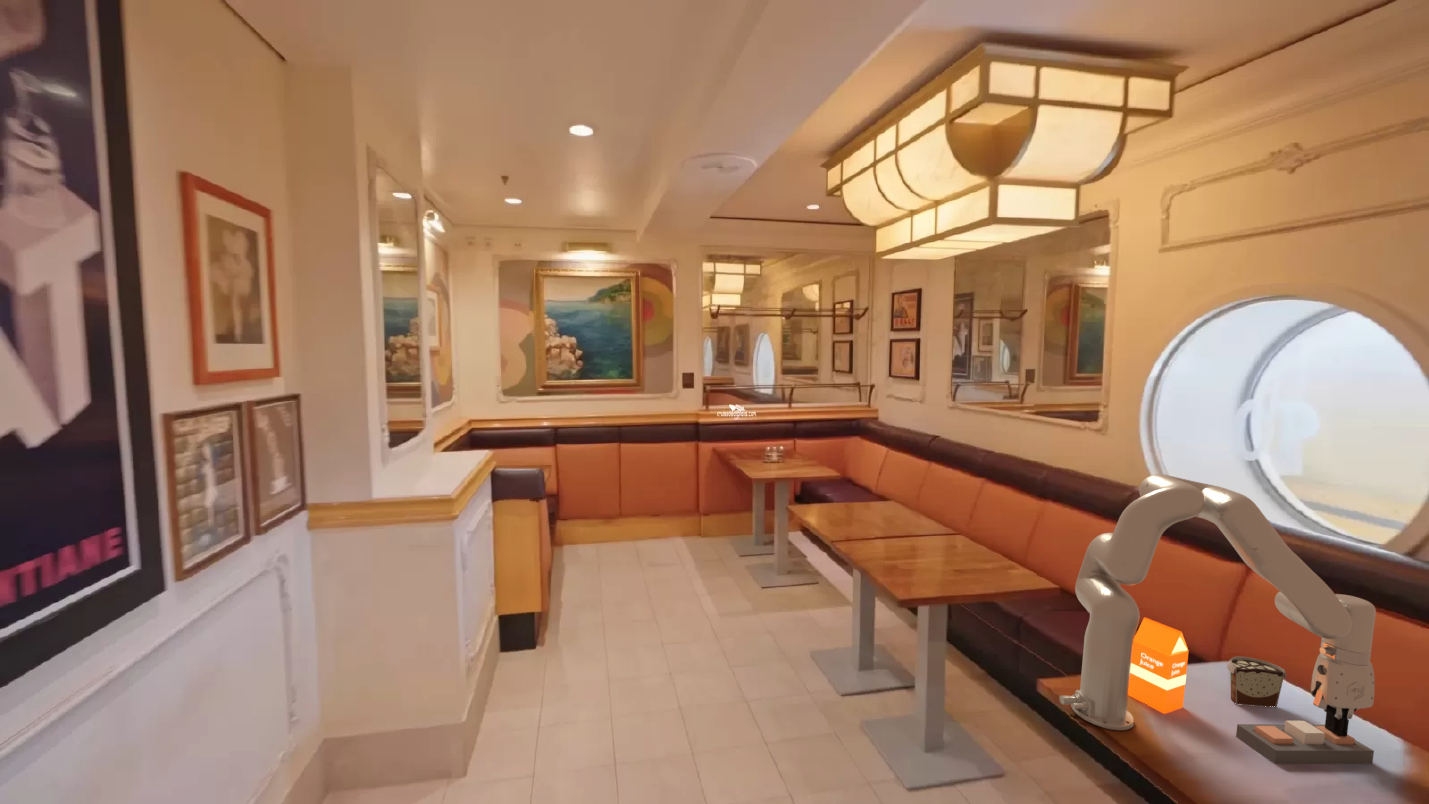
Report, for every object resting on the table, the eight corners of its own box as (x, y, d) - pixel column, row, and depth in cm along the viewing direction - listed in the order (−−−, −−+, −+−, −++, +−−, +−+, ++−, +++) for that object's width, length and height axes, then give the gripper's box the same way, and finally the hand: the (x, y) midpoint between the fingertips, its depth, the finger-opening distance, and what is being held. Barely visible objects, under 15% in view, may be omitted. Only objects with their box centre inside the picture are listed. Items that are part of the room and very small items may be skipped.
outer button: (1333, 756, 131) (1335, 738, 130) (1312, 742, 135) (1314, 726, 135) (1352, 756, 131) (1354, 738, 131) (1331, 743, 135) (1333, 726, 135)
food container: (1262, 694, 155) (1267, 657, 154) (1283, 708, 149) (1287, 670, 148) (1211, 690, 156) (1215, 653, 155) (1229, 704, 150) (1233, 665, 149)
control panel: (1274, 763, 128) (1275, 750, 127) (1235, 736, 137) (1237, 724, 136) (1372, 764, 129) (1374, 750, 128) (1327, 737, 138) (1329, 724, 137)
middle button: (1303, 750, 130) (1305, 733, 130) (1283, 737, 135) (1285, 720, 134) (1322, 750, 130) (1324, 733, 130) (1302, 737, 135) (1304, 720, 134)
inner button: (1272, 756, 130) (1274, 738, 130) (1253, 742, 134) (1255, 725, 134) (1291, 756, 130) (1293, 738, 130) (1271, 742, 135) (1273, 726, 134)
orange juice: (1164, 714, 145) (1172, 634, 143) (1126, 694, 153) (1133, 619, 151) (1183, 707, 148) (1191, 629, 146) (1145, 688, 156) (1152, 614, 154)
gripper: (1330, 661, 127) (1321, 743, 129) (1397, 662, 128) (1387, 743, 129) (1294, 644, 134) (1286, 722, 136) (1358, 644, 135) (1349, 722, 137)
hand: (1335, 732), depth 133 cm, fingers closed
